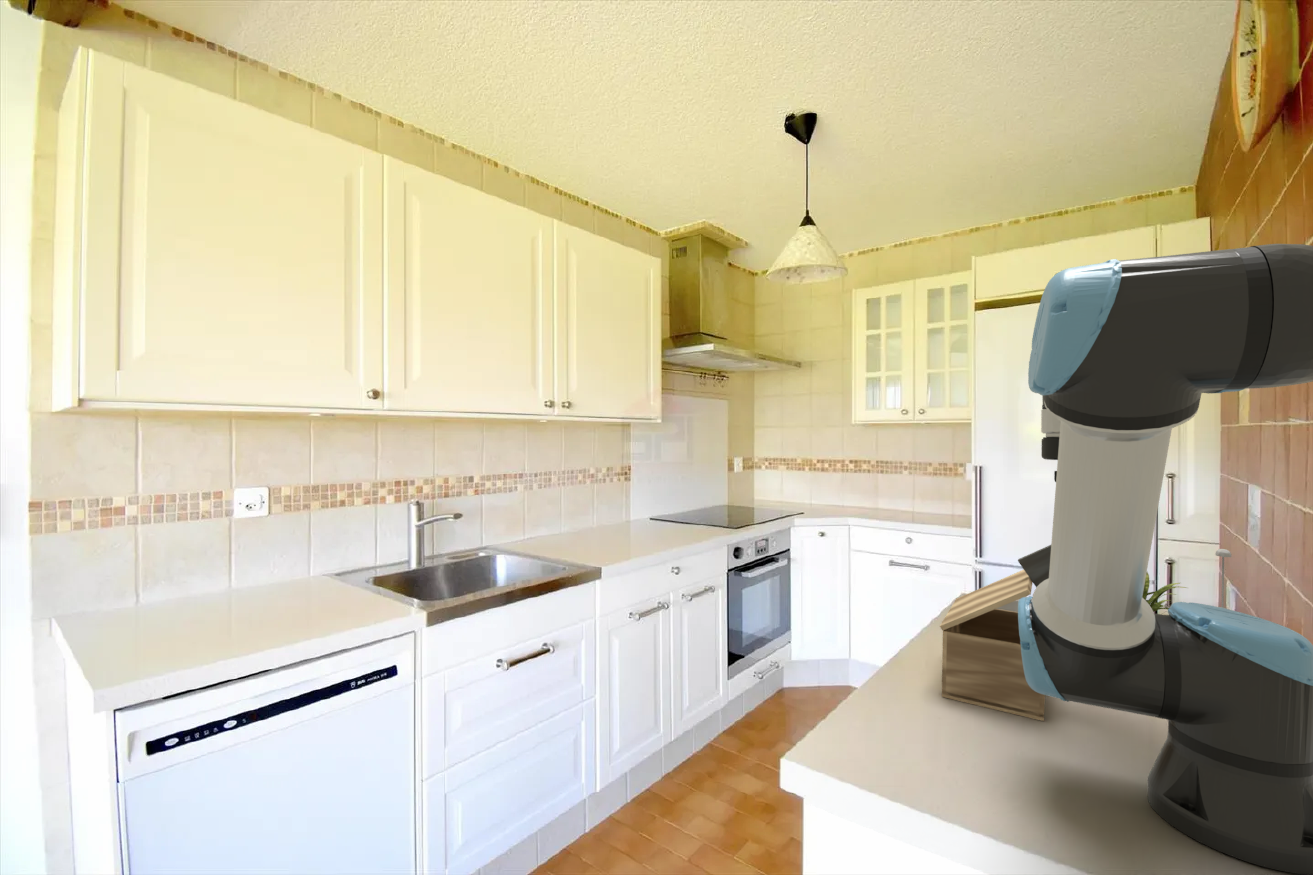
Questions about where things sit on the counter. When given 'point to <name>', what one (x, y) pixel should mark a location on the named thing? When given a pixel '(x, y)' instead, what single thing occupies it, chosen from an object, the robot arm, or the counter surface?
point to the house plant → (1156, 594)
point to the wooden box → (988, 665)
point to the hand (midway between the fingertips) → (1068, 580)
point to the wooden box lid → (1001, 590)
